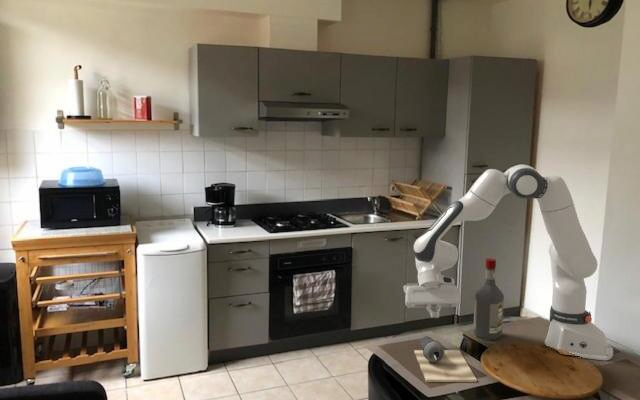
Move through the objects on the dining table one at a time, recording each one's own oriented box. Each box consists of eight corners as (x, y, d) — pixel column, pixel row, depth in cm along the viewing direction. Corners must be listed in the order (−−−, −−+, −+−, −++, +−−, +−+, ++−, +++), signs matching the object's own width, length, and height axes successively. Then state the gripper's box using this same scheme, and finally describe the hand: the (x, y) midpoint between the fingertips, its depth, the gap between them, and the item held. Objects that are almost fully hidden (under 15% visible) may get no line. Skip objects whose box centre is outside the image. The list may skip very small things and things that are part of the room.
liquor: (470, 335, 210) (474, 259, 206) (481, 328, 217) (485, 255, 212) (493, 342, 204) (497, 264, 200) (504, 334, 211) (507, 259, 206)
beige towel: (414, 352, 196) (414, 350, 196) (459, 352, 196) (459, 349, 196) (426, 382, 174) (426, 379, 174) (476, 381, 174) (476, 379, 174)
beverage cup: (439, 347, 198) (454, 363, 178) (421, 355, 198) (434, 373, 178) (431, 328, 198) (445, 343, 178) (412, 337, 198) (424, 353, 178)
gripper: (403, 279, 204) (407, 313, 196) (458, 278, 205) (464, 313, 196) (401, 287, 210) (405, 321, 201) (455, 286, 210) (461, 320, 202)
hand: (435, 317), depth 199 cm, fingers closed
